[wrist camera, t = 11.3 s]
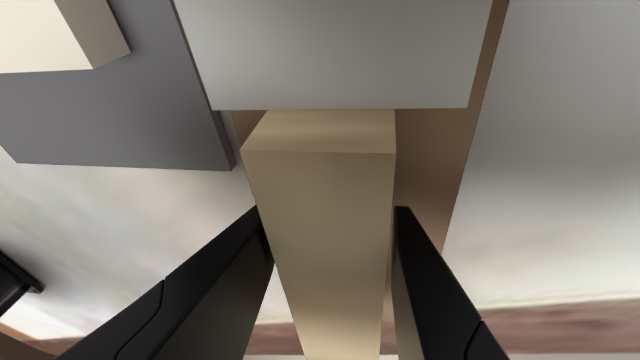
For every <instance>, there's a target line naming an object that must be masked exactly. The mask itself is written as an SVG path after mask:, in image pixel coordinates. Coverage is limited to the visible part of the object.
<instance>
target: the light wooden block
mask: <svg viewBox="0 0 640 360" xmlns="http://www.w3.org/2000/svg"><path fill="white" fill-rule="evenodd" d="M492 2H493V0H174V3H175V6H176V9H177V11H178V14H179V17H180V20H181V23H182V26H183V28H184V31H185V34H186V37H187V40H188V43H189V45H190V48H191V51H192V54H193V57H194V60H195V62H196V65H197V68H198V71H199V74H200V77H201V79H202V82H203V85H204V88H205V91H206V94H207V96H208V99H209V102H210V105H211V108H212V110H267V112H266V113H265V115H264V116H263V117H262V119H261V120H260V122H259V123H258V124H257V126H256V127H255V129H254V130H253V131H252V133H251V134H250V136H249V137H248V138H247V140H246V141H245V143H244V144H243V145H242V147H241V148H240V150H239V152H240V155H241V158H242V161H243V164H244V167H245V171H246V174H247V177H248V180H249V183H250V186H251V189H252V192H253V195H254V199H255V202H256V205H257V208H258V211H259V214H260V217H261V220H262V224H263V227H264V230H265V233H266V236H267V239H268V242H269V245H270V249H271V252H272V255H273V258H274V261H275V264H276V267H277V270H278V273H279V277H280V280H281V283H282V286H283V289H284V292H285V295H286V298H287V302H288V305H289V308H290V311H291V314H292V317H293V320H294V323H295V327H296V330H297V333H298V336H299V339H300V342H301V345H302V348H303V351H304V355H305V358H306V360H379V351H380V339H381V327H382V315H383V304H384V292H385V280H386V268H387V257H388V245H389V233H390V221H391V210H392V198H393V186H394V174H395V163H396V135H395V110H394V109H413V108H467V106H468V102H469V97H470V93H471V89H472V85H473V81H474V77H475V72H476V68H477V64H478V60H479V56H480V52H481V47H482V43H483V39H484V35H485V31H486V27H487V22H488V18H489V14H490V10H491V6H492Z"/></svg>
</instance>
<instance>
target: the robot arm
mask: <svg viewBox="0 0 640 360" xmlns="http://www.w3.org/2000/svg"><path fill="white" fill-rule="evenodd" d="M274 264H275V261H274V258H273V255H272V252H271V249H270V245H269V242H268V239H267V236H266V233H265V230H264V227H263V224H262V220H261V217H260V214H259V211H258V208H257V205H255V206H254V207H252V208H251V209H250V210H249V211H247V212H246V213H245V214H244V215H242V216H241V217H240V218H239V219H237V220H236V221H235V222H234V223H232V224H231V225H230V226H229V227H227V228H226V229H225V230H224V231H222V232H221V233H220V234H219V235H217V236H216V237H215V238H214V239H212V240H211V241H210V242H209V243H207V244H206V245H205V246H204V247H202V248H201V249H200V250H199V251H198V252H196V253H195V254H194V255H193V256H191V257H190V258H189V259H188V260H186V261H185V262H184V263H183V264H181V265H180V266H179V267H178V268H176V269H175V270H174V271H173V272H171V273H170V274H169V275H168V276H166V277H165V280H161V281H160V282H159V283H158V284H156V285H155V286H154V287H153V288H151V289H150V290H149V291H147V292H146V293H145V294H144V295H142V296H141V297H140V298H138V299H137V300H136V301H135V302H133V303H132V304H131V305H129V306H128V307H127V308H125V309H124V310H122V311H121V312H120V313H118V314H117V315H116V316H114V317H113V318H111V319H110V320H109V321H107V322H106V323H104V324H103V325H102V326H100V327H99V328H97V329H96V330H94V331H93V332H92V333H90V334H89V335H87V336H86V337H84V338H83V339H82V340H80V341H79V342H77V343H76V344H74V345H73V346H72V347H70V348H69V349H67V350H66V351H64V352H63V353H62V354H60V355H59V356H57V357H56V358H54V359H53V360H242V359H243V357H244V354H245V351H246V348H247V345H248V342H249V339H250V336H251V333H252V330H253V327H254V324H255V322H256V319H257V316H258V313H259V310H260V307H261V304H262V301H263V298H264V295H265V292H266V290H267V287H268V284H269V281H270V278H271V275H272V271H273V268H274ZM390 277H391V294H392V303H393V312H394V321H395V330H396V339H397V348H398V357H399V360H510V359H509V357H508V356H507V354H506V353H505V351H504V350H503V348H502V347H501V346H500V344H499V343H498V341H497V340H496V338H495V337H494V335H493V334H492V332H491V331H490V329H489V328H488V326H487V324H486V323H485V322H484V321H481V319H482V317H481V316H480V314H479V312H478V311H477V309H476V308H475V306H474V305H473V303H472V302H471V300H470V299H469V297H468V296H467V294H466V293H465V291H464V290H463V288H462V286H461V285H460V283H459V282H458V280H457V279H456V277H455V276H454V274H453V273H452V271H451V270H450V268H449V267H448V265H447V264H446V262H445V261H444V259H443V257H442V256H441V254H440V253H439V251H438V250H437V248H436V247H435V245H434V244H433V242H432V241H431V239H430V238H429V236H428V235H427V233H426V231H425V230H424V228H423V227H422V225H421V224H420V222H419V221H418V219H417V218H416V216H415V215H414V213H413V212H412V210H411V209H410V207H408V206H399V205H395V206H394V207H393V214H392V226H391V273H390ZM44 290H45V289H44V288H43V287H42V286H40V285H39V284H38V283H37V282H35V281H34V280H33V279H32V278H30V277H29V276H28V275H26V274H25V273H24V272H23V271H21V270H20V269H19V268H17V267H16V266H15V265H14V264H12V263H11V262H10V261H9V260H7V259H6V258H5V257H3V256H2V255H1V254H0V317H1V316H2V315H3V314H4V313H5V312H7V311H8V310H9V309H10V308H11V307H12V306H13V305H14V304H15V303H16V302H17V301H18V300H19V299H20V298H21V297H22V296H23V295H24V294H25V293H26V292H30V293H36V294H41V293H42V292H43V291H44Z"/></svg>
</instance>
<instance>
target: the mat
mask: <svg viewBox="0 0 640 360" xmlns="http://www.w3.org/2000/svg"><path fill="white" fill-rule="evenodd" d="M106 2H107V4H108V6H109V8H110V10H111V12H112V14H113V16H114V18H115V20H116V22H117V24H118V27H119V29H120V31H121V33H122V35H123V37H124V39H125V41H126V43H127V45H128V47H129V49H130V52H131V53H130V54H127V55H125V56H123V57H120V58H118V59H116V60H113V61H111V62H109V63H106V64H104V65H102V66H99V67H97V68H95V69H84V70H62V71H40V72H18V73H0V145H1V146H2V147H3V148H4V150H5V151H6V152H7V153H8V154H9V155H10V156H11V157H12V158H13V159H14V160H15V161H16V163H28V164H54V165H80V166H106V167H132V168H158V169H184V170H210V171H232V170H233V168H234V167H235V165H236V163H235V160H234V157H233V154H232V151H231V148H230V145H229V142H228V139H227V136H226V133H225V130H224V127H223V124H222V122H221V119H220V116H219V113H218V110H212V108H211V105H210V102H209V99H208V96H207V94H206V91H205V88H204V85H203V82H202V79H201V77H200V74H199V71H198V68H197V65H196V62H195V60H194V57H193V54H192V51H191V48H190V45H189V43H188V40H187V37H186V34H185V31H184V28H183V26H182V23H181V20H180V17H179V14H178V11H177V9H176V6H175V3H174V0H106Z"/></svg>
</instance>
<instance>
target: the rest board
mask: <svg viewBox="0 0 640 360" xmlns="http://www.w3.org/2000/svg"><path fill="white" fill-rule="evenodd" d="M508 4H509V0H493V2H492V6H491V10H490V14H489V18H488V22H487V27H486V31H485V35H484V39H483V43H482V47H481V52H480V56H479V60H478V64H477V68H476V72H475V77H474V81H473V85H472V89H471V93H470V97H469V102H468V106H467V108H413V109H394V110H395V135H396V163H395V174H394V186H393V198H392V210H391V221H390V233H389V245H388V257H387V268H386V280H385V292H384V304H383V315H382V322H386V323H393V324H395V321H394V312H393V303H392V294H391V277H390V273H391V226H392V214H393V207H394V206H395V205H399V206H408V207H410V209H411V210H412V212H413V213H414V215H415V216H416V218H417V219H418V221H419V222H420V224H421V225H422V227H423V228H424V230H425V231H426V233H427V235H428V236H429V238H430V239H431V241H432V242H433V244H434V245H435V247H436V248H437V250H438V251H439V253H440V254H441V253H442V249H443V246H444V242H445V238H446V235H447V231H448V227H449V223H450V220H451V216H452V212H453V209H454V205H455V201H456V197H457V194H458V190H459V186H460V183H461V179H462V175H463V171H464V168H465V164H466V160H467V157H468V153H469V149H470V145H471V142H472V138H473V134H474V131H475V127H476V123H477V119H478V116H479V112H480V108H481V105H482V101H483V97H484V93H485V90H486V86H487V82H488V79H489V75H490V71H491V67H492V64H493V60H494V56H495V53H496V49H497V45H498V41H499V38H500V34H501V30H502V26H503V23H504V19H505V15H506V12H507V8H508ZM230 112H231V116H232V119H233V122H234V125H235V128H236V132H237V135H238V138H239V141H240V144H241V147H242V145H243V144H244V143H245V141H246V140H247V138H248V137H249V136H250V134H251V133H252V131H253V130H254V129H255V127H256V126H257V124H258V123H259V122H260V120H261V119H262V117H263V116H264V115H265V113H266V112H267V110H230Z"/></svg>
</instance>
